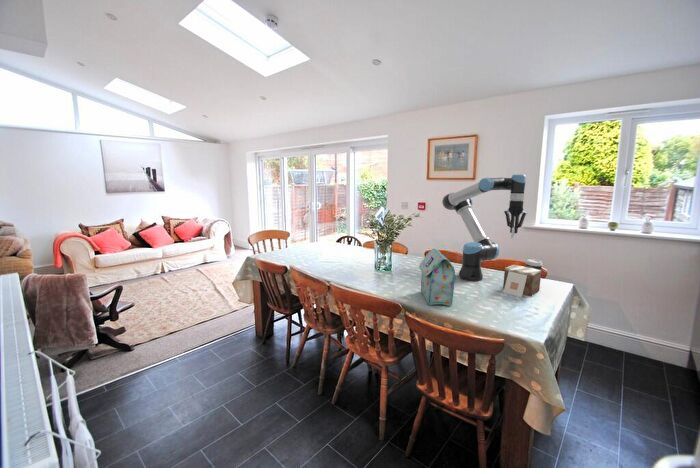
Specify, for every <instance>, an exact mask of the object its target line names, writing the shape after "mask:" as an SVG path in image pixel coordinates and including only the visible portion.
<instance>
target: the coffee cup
mask: <svg viewBox="0 0 700 468" xmlns="http://www.w3.org/2000/svg"><path fill="white" fill-rule="evenodd" d="M543 264H544V263H543V262H542V260H539V259H531V258H529V259H527V260H526V261H525V267H528V268H533V269H538V270H542V268H543V266H544V265H543Z"/></svg>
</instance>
